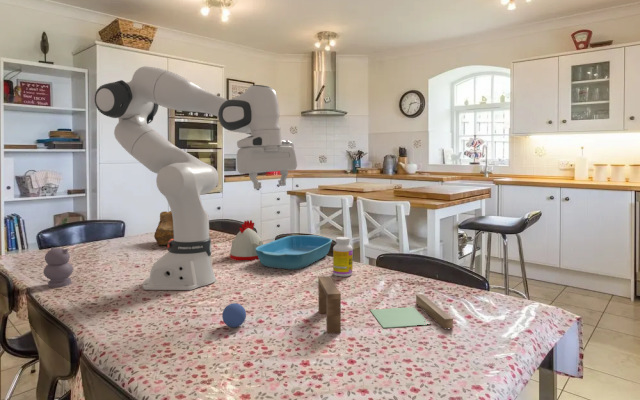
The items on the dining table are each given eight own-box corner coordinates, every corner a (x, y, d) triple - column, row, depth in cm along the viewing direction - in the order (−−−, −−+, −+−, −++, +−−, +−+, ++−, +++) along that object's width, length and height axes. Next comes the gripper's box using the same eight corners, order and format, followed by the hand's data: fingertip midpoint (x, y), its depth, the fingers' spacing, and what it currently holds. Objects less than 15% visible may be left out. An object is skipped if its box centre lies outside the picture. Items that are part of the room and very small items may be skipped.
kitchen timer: (271, 255, 177) (270, 219, 175) (248, 262, 165) (248, 224, 164) (246, 251, 184) (245, 217, 183) (223, 258, 173) (222, 221, 171)
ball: (221, 331, 99) (221, 308, 99) (223, 322, 105) (222, 300, 104) (246, 330, 100) (245, 307, 100) (246, 321, 106) (246, 299, 105)
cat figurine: (38, 286, 135) (35, 249, 134) (60, 279, 143) (58, 244, 141) (57, 289, 132) (55, 251, 131) (79, 282, 140) (77, 246, 138)
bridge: (327, 333, 98) (327, 294, 97) (318, 311, 113) (318, 276, 112) (340, 332, 99) (340, 293, 98) (329, 310, 113) (329, 276, 112)
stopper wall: (444, 329, 100) (445, 319, 100) (416, 303, 118) (416, 294, 118) (452, 328, 100) (453, 318, 100) (422, 303, 118) (423, 294, 118)
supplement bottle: (351, 277, 143) (351, 240, 142) (331, 276, 145) (331, 239, 143) (353, 272, 150) (353, 236, 148) (334, 271, 151) (334, 235, 150)
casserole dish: (298, 275, 147) (298, 255, 147) (245, 268, 157) (244, 249, 156) (339, 253, 181) (339, 236, 180) (293, 249, 190) (293, 233, 189)
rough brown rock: (142, 246, 200) (139, 215, 197) (171, 237, 213) (169, 208, 211) (174, 254, 187) (171, 221, 184) (203, 244, 201) (201, 213, 198)
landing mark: (383, 328, 101) (383, 327, 101) (369, 310, 113) (369, 309, 113) (431, 324, 103) (431, 324, 103) (413, 307, 115) (413, 306, 115)
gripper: (286, 141, 136) (289, 184, 137) (231, 142, 121) (236, 190, 123) (299, 139, 131) (302, 184, 133) (244, 140, 117) (249, 190, 118)
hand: (270, 187), depth 128 cm, fingers open, 8 cm apart
